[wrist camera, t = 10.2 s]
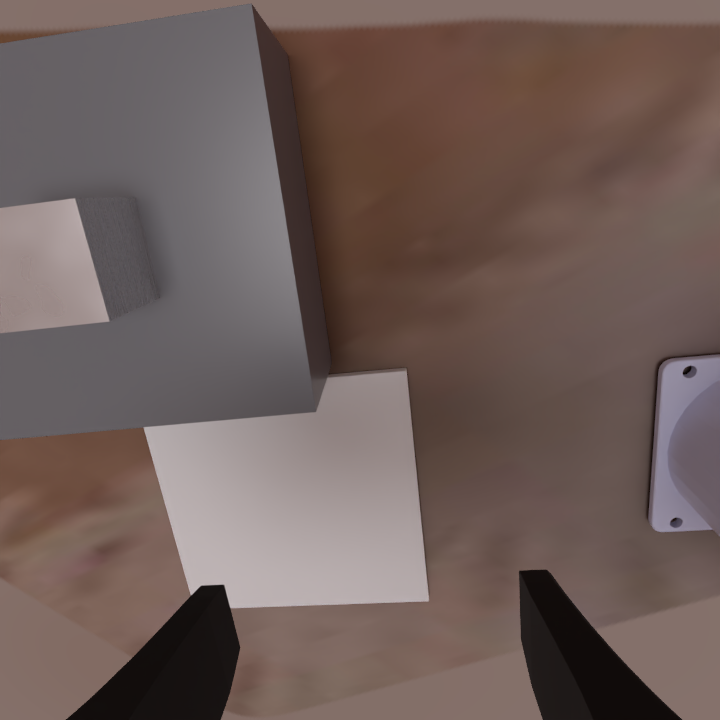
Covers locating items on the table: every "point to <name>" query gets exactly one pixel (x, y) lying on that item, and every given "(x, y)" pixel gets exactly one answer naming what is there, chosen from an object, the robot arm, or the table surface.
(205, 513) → the mat
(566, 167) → the table surface
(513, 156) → the table surface
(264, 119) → the cover
